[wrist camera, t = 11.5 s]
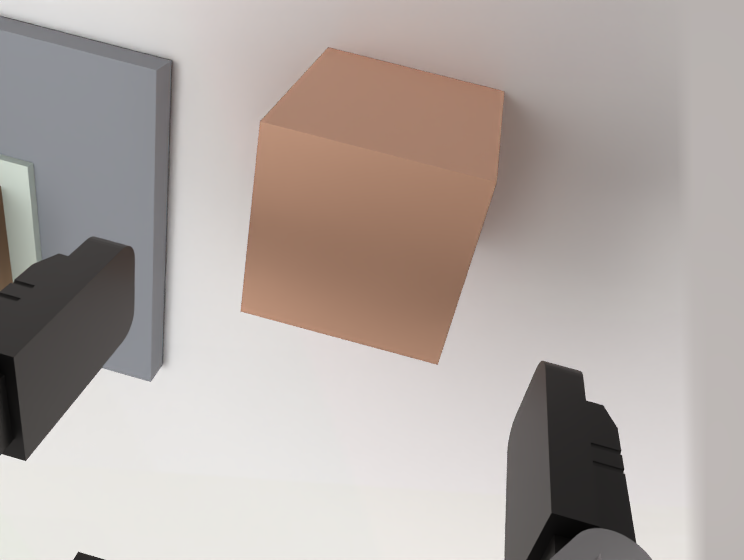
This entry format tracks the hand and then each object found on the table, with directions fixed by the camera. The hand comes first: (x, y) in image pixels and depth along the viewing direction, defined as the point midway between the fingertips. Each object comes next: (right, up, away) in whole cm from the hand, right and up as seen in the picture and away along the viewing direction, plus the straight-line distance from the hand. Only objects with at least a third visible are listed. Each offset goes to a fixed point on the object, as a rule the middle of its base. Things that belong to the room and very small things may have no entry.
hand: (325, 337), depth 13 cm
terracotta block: (+2, +5, +7) cm, 9 cm away
